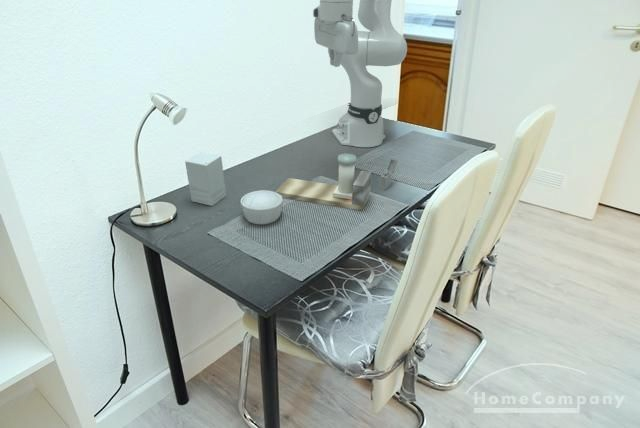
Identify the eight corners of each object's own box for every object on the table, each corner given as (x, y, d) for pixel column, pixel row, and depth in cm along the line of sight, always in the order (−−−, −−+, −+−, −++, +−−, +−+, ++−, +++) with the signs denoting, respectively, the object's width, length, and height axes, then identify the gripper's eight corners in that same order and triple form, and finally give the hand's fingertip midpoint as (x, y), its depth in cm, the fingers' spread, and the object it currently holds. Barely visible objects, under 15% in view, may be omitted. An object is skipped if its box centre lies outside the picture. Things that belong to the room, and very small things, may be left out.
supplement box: (226, 195, 132) (222, 155, 126) (211, 206, 127) (206, 165, 120) (206, 190, 135) (201, 151, 129) (190, 201, 129) (184, 160, 123)
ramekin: (238, 210, 125) (236, 193, 122) (276, 203, 129) (275, 187, 126) (247, 230, 116) (245, 212, 113) (288, 222, 120) (288, 205, 117)
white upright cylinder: (332, 196, 128) (333, 159, 123) (338, 187, 133) (339, 151, 128) (353, 199, 127) (354, 162, 121) (358, 190, 132) (360, 154, 126)
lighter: (384, 190, 136) (386, 166, 132) (379, 189, 137) (381, 164, 133) (395, 182, 141) (397, 158, 137) (390, 180, 142) (392, 157, 138)
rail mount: (275, 196, 132) (274, 173, 128) (288, 182, 140) (287, 159, 137) (362, 210, 125) (363, 186, 121) (370, 194, 133) (371, 171, 130)
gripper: (365, 16, 114) (362, 72, 121) (330, 8, 130) (329, 58, 137) (343, 18, 112) (341, 74, 119) (310, 9, 128) (310, 59, 135)
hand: (335, 65), depth 128 cm, fingers closed
